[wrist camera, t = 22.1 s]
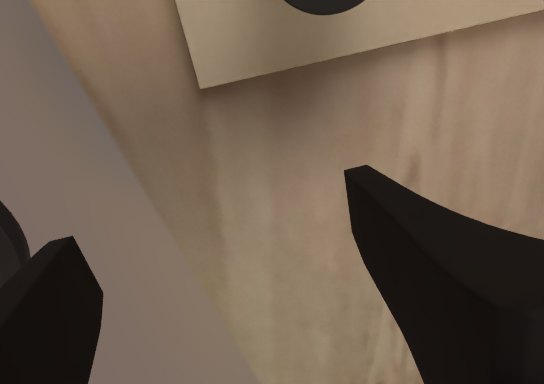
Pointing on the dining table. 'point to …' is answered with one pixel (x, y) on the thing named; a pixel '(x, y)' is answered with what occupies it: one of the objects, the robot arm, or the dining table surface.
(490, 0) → the face board
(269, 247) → the dining table surface
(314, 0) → the dot
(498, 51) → the dining table surface
